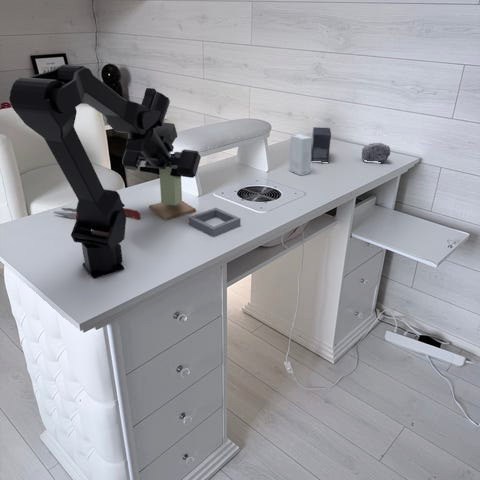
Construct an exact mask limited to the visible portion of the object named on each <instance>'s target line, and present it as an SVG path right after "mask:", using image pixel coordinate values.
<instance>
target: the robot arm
mask: <svg viewBox="0 0 480 480" xmlns="http://www.w3.org/2000/svg"><path fill="white" fill-rule="evenodd" d="M9 93H10V94H9V98H8V99H9V103H10V105H11V108H12V110H13V111H14V112H15V113H16V115H17V116H18V117H19V118H20V120H21V121H22V122H23V123H24V124H25V125H26V127H28V128H29V129H31V130H32V131H33V132H34V133H36V134H38V135H39V136H40V137H42V138H43V140H44V141H45V142H46V144H47V147H48V148H49V150H50V151H51V153H52V155H53V157H54V159H55V160H56V162H57V164H58V166H59V168H60V169H61V171H62V173H63V175H64V177H65V179H66V180H67V183H68V184H69V185H70V188H71V189H72V191H73V193H74V195H75V196H76V198H77V200H78V201H77V204H76V212H77V215H78V217H77V220H76V219H75V223H74V225H73V228H72V231H71V234H70V236H71V238H72V240H73V242H74V243H79V244H81V249H82V254H83V255H82V256H83V260H84V261H83V262H82V265H81V266H82V267H83V268H84V270H85V271H86V272H87V273H88V275H89V276H90V277H91V278H92V279H99V278H101V277H105V276H108V275H112V274H115V273H118V272H120V271H123V270H125V266H124V265H123V264H122V263H123V253H122V252H123V251H122V246H121V244H120V243H122V242H124V240H125V238H126V237H125V234H126V225H127V217H126V214H125V211H124V208H125V204H124V203H123V201H122V199H121V196H120V194H119V192H118V191H117V190H111V189H105V188H104V187H103V184H102V183H101V180H100V179H99V177H98V174H97V172H96V171H95V168H94V166H93V164H92V162H91V160H90V158H89V156H88V153H87V151H86V150H85V147H84V146H83V144H82V141H81V139H80V137H79V135H78V133H77V130H76V129H75V123H76V117H77V107H79V105H80V104H83V102H84V103H85V104H87V105H89V106H90V107H92V108H93V109H94V110H96V111H97V112H99V113H100V114H102V116H104V117H105V118H106V119H105V121H106V123H107V124H108V125H109V126H110V128H111V129H112V130H114V132H116V133H125V134H127V141H126V144H125V150H124V154H123V157H122V160H121V163H122V166H123V167H124V168H125V169H126V170H131V171H132V170H133V171H137V170H138V168H139V171H140V172H142V173H146V174H152V175H155V176H158V177H160V174H159V169H165V168H166V167H169V168H172V170H171V173H170V176H173V177H176V178H179V179H181V180H182V177H184V178H189V179H193V178H195V177H196V175H197V171H198V169H199V165H200V161H201V158H202V156H201V154H200V153H199V151H198V150H192V149H182V150H181V151H175V152H174V149H175V147H174V145H173V144H174V142H175V140H176V139H177V138H178V132H177V129H176V126H175V124H174V123H171V122H164V121H165V118H166V116H167V112H168V109H169V105H170V104H171V101H170V98H169V97H168V96H166V95H164V94H163V93H162V92H159V91H157V89H155V88H154V87H153V88H151V87H150V88H149V87H146V88H145V91H144V95H143V98H142V101H141V103H140V102H139V103H138V102H136V101H131V100H127V99H125V98H123V97H122V96H121V95H119V93H117V92H115V91H114V90H113V89H112V88H111V87H109V86H108V85H107V84H106V83H104V82H103V81H101V79H99V78H98V76H96V75H94V74H93V72H92V71H91V69H90V68H87V67H86V66H84V65H75V64H73V65H72V64H61V65H59V66H57V67H55V68H54V69H52V70H49V71H45V72H42V73H37V74H35V75H34V74H33V75H32V76H29V77H19V78H17V79H16V80H15V81H14V82H13V84H12V86H11V90H10V91H9ZM171 152H174V153H171ZM94 230H96V231H102V232H107V233H109V234H107V233H102V232H96V231H94Z"/></svg>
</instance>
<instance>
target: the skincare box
mask: <svg viewBox="0 0 480 480" xmlns="http://www.w3.org/2000/svg"><path fill="white" fill-rule="evenodd" d="M289 145H290V146H289V147H290V148H289V164H288V165H289V168H288V170H289V172H292V173H293V172H294V174H296V175H298V176H306V175H305V174H307V175H309V174H310V172H311V146H312V136H311V137H310V136H308V135H305V134H300V133H298V134H294V135H293V134H291V135H290V143H289ZM308 173H309V174H308Z"/></svg>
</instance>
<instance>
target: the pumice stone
mask: <svg viewBox="0 0 480 480" xmlns="http://www.w3.org/2000/svg"><path fill="white" fill-rule="evenodd" d="M390 155H391V148H390V146H389V145H387V144H385V143H382V142H373V143H372V142H371V143H369V144H368V145H364V147H363V148H362V150H361V159H362V160H363V159H364V160H367V161H378V162H382V163H384V161H386V160H388V158H389V156H390Z"/></svg>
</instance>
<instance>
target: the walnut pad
mask: <svg viewBox="0 0 480 480" xmlns="http://www.w3.org/2000/svg"><path fill="white" fill-rule="evenodd" d="M148 209H149V210H151V211H152V212H154V213H155V214H156V215H158V216H159V217H161V218H162V219H163V220H165V221H167V220H170V219H175V218H177V217H182V216H185V215H189V214H193V213H197V210H196V208H195V207H193V206H192V205H190V204H188V203H187V202H185V201H183V199H182V200H181V201H180V202H179V203H178V204H177V205H169V204H162V203H161V202H158V203H153V204H149V205H148Z"/></svg>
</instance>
